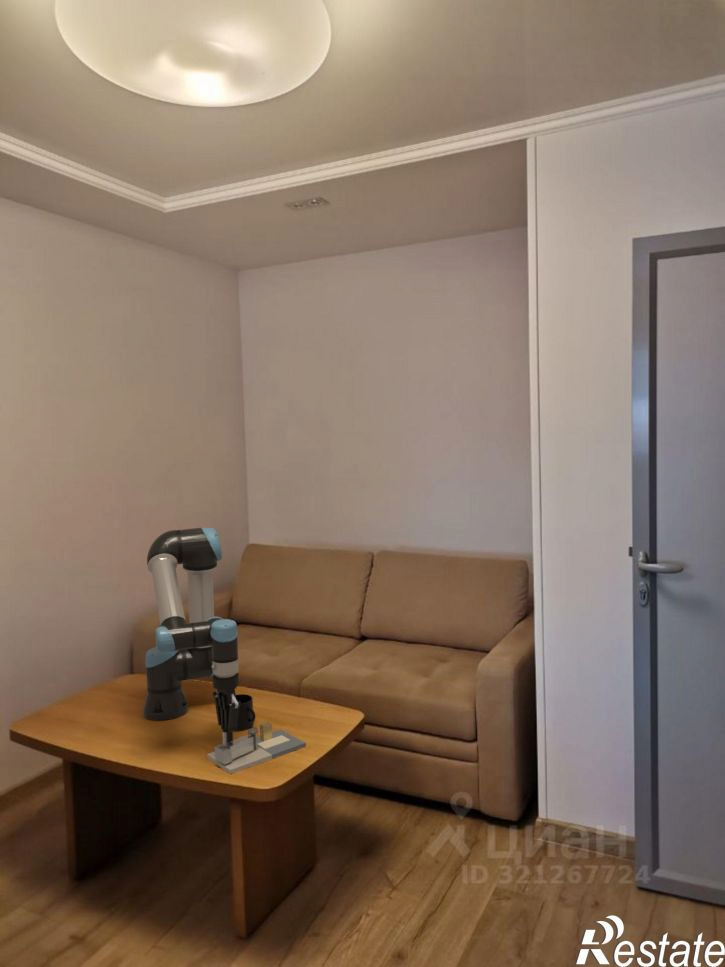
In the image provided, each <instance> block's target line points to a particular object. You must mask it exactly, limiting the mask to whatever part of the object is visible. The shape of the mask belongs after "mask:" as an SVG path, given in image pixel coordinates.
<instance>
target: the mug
mask: <svg viewBox="0 0 725 967" xmlns="http://www.w3.org/2000/svg"><path fill="white" fill-rule="evenodd" d="M236 700H237V702H238V701H240V702H241V705H240V708H239V715H238V724H237V730H234V731H233V732H243V731H245V730H247V731H248V730H249V729H252V727H253V726H254V723H255V722H254V721H255V720H256V713H255V711H254V705H253V703H254V702H253V700H254V698H253V696H251V695H249V694H243V693H241V694H240V693H238V694H237V693H236Z"/></svg>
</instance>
